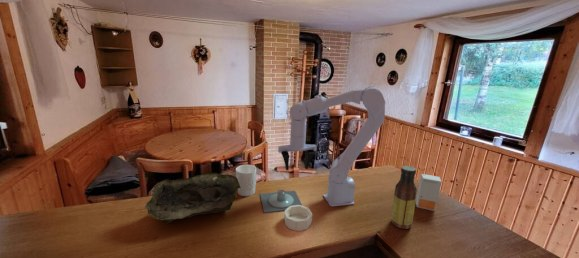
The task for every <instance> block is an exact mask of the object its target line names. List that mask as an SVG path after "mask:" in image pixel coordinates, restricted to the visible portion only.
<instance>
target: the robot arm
mask: <svg viewBox="0 0 579 258" xmlns="http://www.w3.org/2000/svg"><path fill="white" fill-rule="evenodd" d="M361 102H362V105H363V106H364V107H365V109H366V111H367V115H368V118H366V120H365V122H364V123H363V124H362V126H361V127H360V128H359V130H358V131H357V132H356V134H355V136H354V137H353V138H352V139H351V141H350V143H349V144H348V145H347V147H346V148H345V150H344V151H343V152H342V153H341V154H340V155H339V156H338V157H337V158H335V159H333V161H332V163H331V168H330V170H329V174H328V180H327V181H328V183H327V193H324V194H323V195H322V196H323V198H324V199H325V200H326V202H327V203H328V205H329V206H330V207H338V206H339V207H340V206H349V205H355V201H354V200H355V198H354V197H355V191H356V183H355V181H354V178H352V177H351V176H348V175H349V172H350V171H351V168H352V167H353V165H354V163H355V161H356V160H357V158H358V157H359V156H360V154H362V152H363V150H364V149H365V148H366V146H367V145H368V144H369V142H370V141H371V139H373V137H374V136H375V134H376V133H377V131H378V130H379V129H380V127H381V126H382V125H383V124H384V122H385V120H386V117H385V116H386V114H385V113H386V100H385V98H384V94H383V93H382V91H381V90H380V89H379V88H378V87H376V86H367V87H366V88H365V87H360V88H356V89H351V90H348V91H345V92H342V93H340V94H336V95H333V96H331V97H325V96H323V95H321V96H320V95H318V94H317V95H315V96H314V98H311V99H307V100H305V99H303V100H301V101H299V102H296V103H294V104H293V105H292V106H291V107H290V108H289V115H290V117H291V118H290V119H291V120H290V121H291V122H290V134H289V135H290V138H289V139H290V140H289V144H286V145H278V146H277V152H278V153H279V154H280V153H281V155H282V159H283V161H284V165H285V167H284V168H285V170H286V171H290V170H289V163H290V154H289V152H290V153H291V152H304V168H305V169H306V170H308V168H309V166H310V163H311V160H312V159H313V158H314V156H315V152H316V151H317V149H318V148H317V145H316V144H311V143H310V144H307V143H306V140H307V139H306V137H307V135H306V134H307V117H312V116H316V115H318V114H319V115H320V114H322V113H326V112H327V111H328V110H329V108H331V107H335V106H336V107H337V106H340V105H343V104H346V103H353V104H354V103H355V104H357V105H361Z"/></svg>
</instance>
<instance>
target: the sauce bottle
mask: <svg viewBox="0 0 579 258" xmlns="http://www.w3.org/2000/svg"><path fill="white" fill-rule="evenodd" d="M400 172H401V173H400V178H399V180H398V182H397V183H396V184H395V188H394V193H393V194H394V195H393V200H392V210H391V223H392V225H394V226H395V227H397V228H399V229H402V230H409V229H410V228H411V227H412V224H413V220H414V214H415V207H416V197H417V192H418V189H417V187H416V183H415V181H414V180H415V176H416V172H417V169H416V168H415V167H414V166H410V165H403V166H401V169H400Z"/></svg>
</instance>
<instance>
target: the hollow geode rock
mask: <svg viewBox="0 0 579 258" xmlns="http://www.w3.org/2000/svg"><path fill="white" fill-rule="evenodd" d="M238 188H241V187H240V184H239V182H238V179H237V177H236V175H235V176H234V175H232V174H221V173H218V172H205V173H201V174H197V175H194V176H192V177H186V178H177V179H174V180H171V179H168V178H167V179H162V180H160V182H157V184H156V185H154V187H153V192H152V196H151V198H150V199H149V201H147V202H146V204H145V207H144V208H146V210H147V214H148V215H150V216H152V218H153V219H157V220H159V221H164V222H165V224H167V225H168V224H170V223H173V222H174V221H175V220H179V219H181V220H183V219H184V218H192V217H193V216H197V215H198V216H200V215H205V214H206V215H207V214H208V215H209V214H215V213H220V212H225V211H229V210H231V208H232V205H233V203H234V202H235V201H236V200H237V199H238V197H237V193H236V192H238Z"/></svg>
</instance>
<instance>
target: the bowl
mask: <svg viewBox="0 0 579 258" xmlns="http://www.w3.org/2000/svg"><path fill="white" fill-rule="evenodd" d="M283 212H284V213H283V215H284V216H283V220H284V225H285V226H286V228H287V229H289V230H290V231H294V232H304V231H306V230H308V229H310V227H311V224H312V223H313V213H312V211H311V209H310V207H308V206H304V205H303V204H302V205H293V206H289V207H288V208H287V209H286V210H285V211H283Z"/></svg>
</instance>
